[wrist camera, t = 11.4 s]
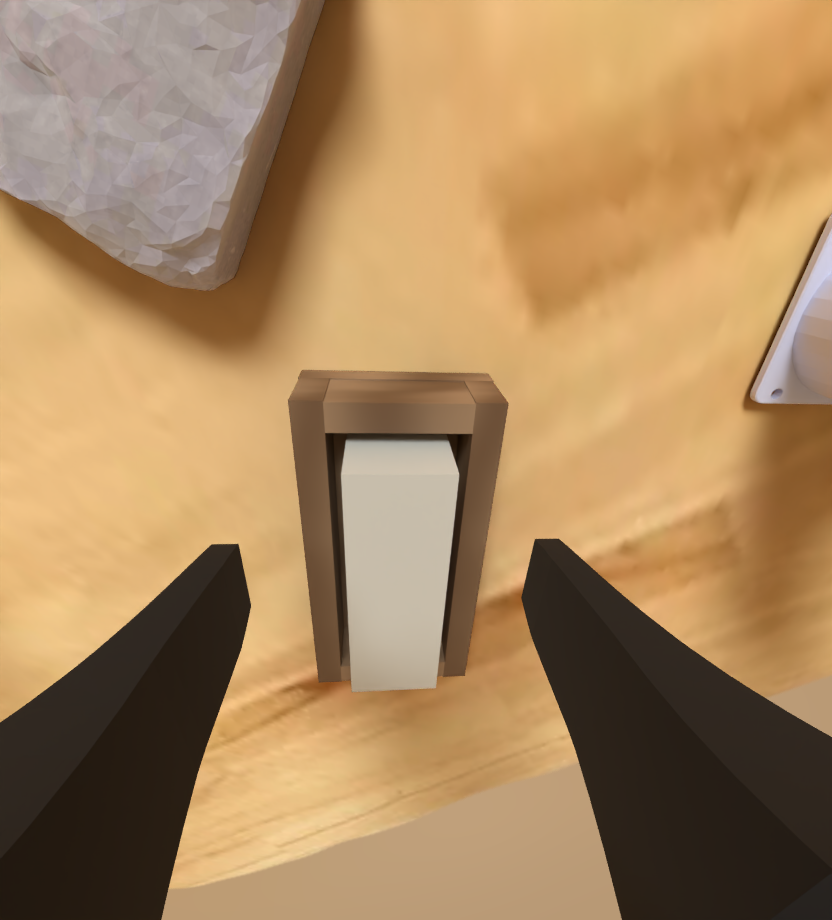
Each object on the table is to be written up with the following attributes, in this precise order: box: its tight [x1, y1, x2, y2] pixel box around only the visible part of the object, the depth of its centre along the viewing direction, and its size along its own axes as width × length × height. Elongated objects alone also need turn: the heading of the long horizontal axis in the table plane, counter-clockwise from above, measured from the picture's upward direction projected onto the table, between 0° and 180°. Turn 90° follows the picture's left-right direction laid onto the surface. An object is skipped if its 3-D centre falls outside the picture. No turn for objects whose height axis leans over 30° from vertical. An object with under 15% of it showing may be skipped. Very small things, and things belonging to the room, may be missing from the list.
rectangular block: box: [341, 433, 459, 692], centre depth 19 cm, size 4×12×4 cm, turn 178°
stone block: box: [0, 0, 325, 291], centre depth 12 cm, size 12×5×10 cm
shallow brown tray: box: [288, 370, 508, 682], centre depth 21 cm, size 8×16×4 cm, turn 178°
